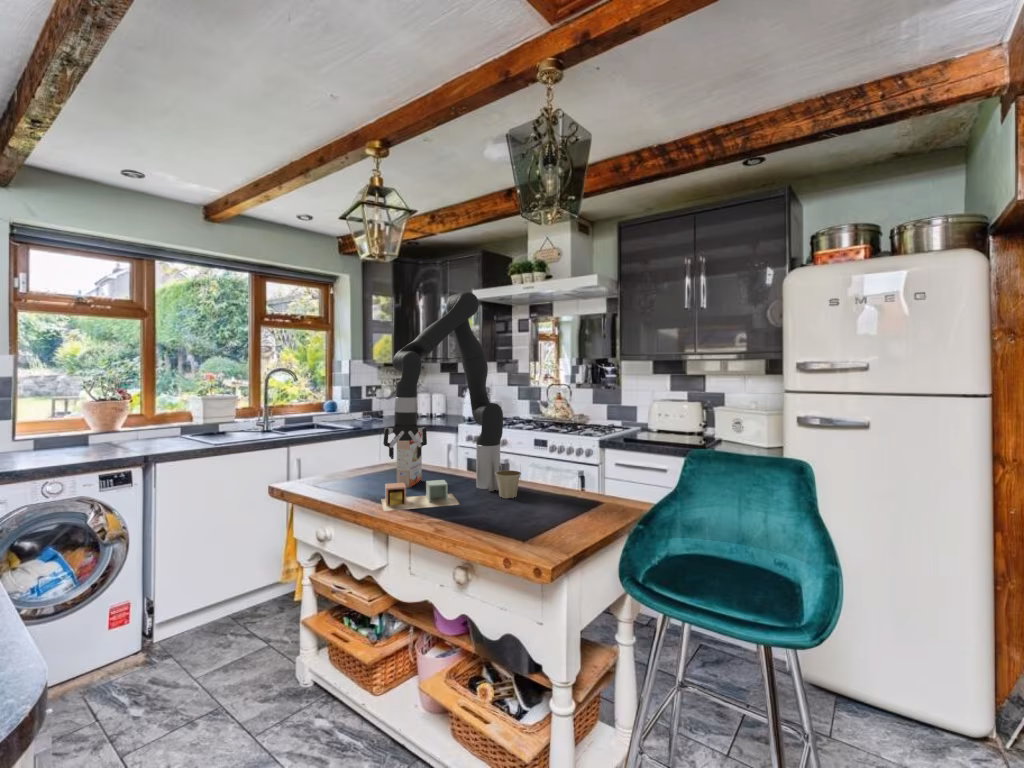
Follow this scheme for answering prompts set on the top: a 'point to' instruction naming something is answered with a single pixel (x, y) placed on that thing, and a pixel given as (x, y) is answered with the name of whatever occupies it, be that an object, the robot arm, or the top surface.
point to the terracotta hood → (395, 487)
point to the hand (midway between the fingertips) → (404, 458)
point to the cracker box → (409, 462)
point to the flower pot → (508, 483)
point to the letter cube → (395, 497)
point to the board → (420, 503)
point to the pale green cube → (436, 489)
